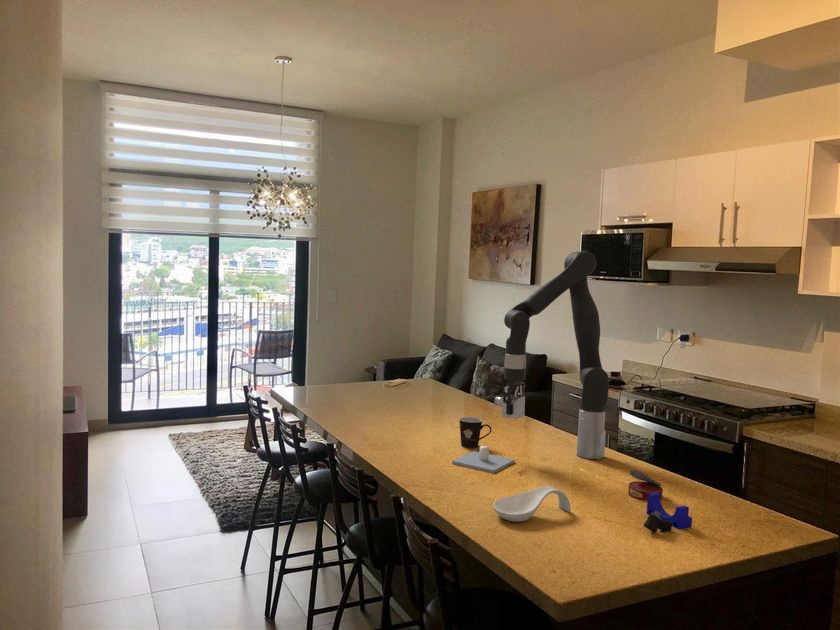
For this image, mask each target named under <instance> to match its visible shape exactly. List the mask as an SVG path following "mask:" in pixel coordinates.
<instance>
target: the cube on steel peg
mask: <svg viewBox="0 0 840 630" xmlns="http://www.w3.org/2000/svg"><path fill="white" fill-rule="evenodd" d="M525 402H526V396H525V395H524V396H518V395H516V398H514V399H513V414H512V415H507V414H506V403H503V396H496V397H495V398H494V401H493V403H494V405H495V406H498V407H501V417H504V418H511V419H514V420H518V419H520V418H523V417H525V407H526V405H525V404H526V403H525Z"/></svg>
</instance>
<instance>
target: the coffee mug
mask: <svg viewBox="0 0 840 630" xmlns="http://www.w3.org/2000/svg"><path fill="white" fill-rule="evenodd" d="M458 419H459V431H460V432H459V433H460V444H461V446H462V447H463V448H468V449H475V448H478V447H479V442H480V441H481V440H482V439H484V438H486V437H487V436H489V435H490V434H491V432H492V426H490V425H489V424H482V423H483V419H482V418H478V417H475V416H464V417H460V418H458ZM484 427H488V428H489V432H488V433H486V434H485V435H483V436H482V437H480V436H481V431H482V429H483V428H484Z"/></svg>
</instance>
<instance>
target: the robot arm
mask: <svg viewBox="0 0 840 630" xmlns="http://www.w3.org/2000/svg"><path fill="white" fill-rule="evenodd" d="M597 265H598V264H597V258H596V256H595V255H594V254H593V253H591V252H590V251H585V250H581V251H575V252H574V251H573V252H570V253H569V254H568V255H567V256H566V257H565V259H564V263H563V266H564V269H563V271H562V272H561V273H559V274H558V275H556V276H554V278H551V279H550V280H548V281H547V282H545V283H544V284H542V285H541V286H539V287H538V288H537V289H536V290H534V291H533V292H532V293H531V294H530V295H529V296H528V297H527V298H526V299H524V300H523V301H521V302H520V303H518V304H516V305H515V306H513V307H512V308H510V309H509V310H508V311H507V312H506V313H505V315H504V319H503V323H504V325H505V326H506V328H507V329H510V334H509V336H508V338H506V341H505V356H504V368H503V375H504V376H503V379H504V380H506V381H507V384H506V385H505V386H503V387H502V397H503V403H506V414H507V415H512V414H513V399H514V398H516V395H518V396H525V390H526V389H525V388H526V382H523V381H525V380H526V371H527V370H526V368H527V358H526V353H527V352H526V350H527V348H526V347H527V343H526V342H527V339H528V336H529V331H530V328H531V327H530V326H531V323H530V318H531V317H533V316H537V315H539V314H541V313H542V312H543V311H544V310H545V309H546V308H548V307H549V306H550V305H551V304H552V303H553V302H554V301H556V300H557V299H558V298H559V297H560V296H561V295H562V294H564V293H565V292H566V291H568V290H569V294H570V296H569V297H570V305H571V306H570V307H571V312H572V313H571V314H572V321H573V329H574V334H575V335H574V336H575V339H576V340H575V341H576V344H577V350H578V355H579V357H578V358H579V379H580V380H579V381H580V383H581V385H582V391H581V392H582V393H581V399H580V401H579V411H578V425H577V442H576V443H577V444H576V455H577V457H579V458H583V459H589V460H597V461H598V460H601V459H603V457H605V452H606V451H605V449H606V447H605V446H606V433H607V431H606V430H605V425H606V424H605V419H606V408H607V407H606V406H607V405H608V400H609V388H610V377H609V375H608V373H607V372H606V370H605V369H604V368H603V366H602V362H601V357H600V341H601V340H600V339H601V322H600V315H599V310H598V308H597V305H596V303H595V301H594V299H593V297H592V294H591V292H590V289H589V285H588V284H589V283H588V276H590V275H592V273H594V271H595V270H596V268H597Z"/></svg>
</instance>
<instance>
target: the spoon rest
mask: <svg viewBox="0 0 840 630" xmlns="http://www.w3.org/2000/svg"><path fill="white" fill-rule="evenodd" d="M551 494H556V495H557V497H558V508H560V509H562V510H563V511H566V512H568V513H569V512H572V511H571V509H572V508H571V503H570V499H569V498H568V496H567V495H566V493H564V492H563V491H561V490H559V489H557V488H556V487H553V486H549V485H547V486H546V485H545V486H540V487H537V488H534V489H531V490H529V491H525V492H521V493H517V494H513V495H509V496H504V497H501V498H498V499H497V500H495V501H494V502H493V504H492V508H493V510H494V511H495V512H496V514H497V515H498V516H499V517H500V518H502V519H503V520H506V521H509V522H513V523H521V522H522V523H523V522H526V521H528V520H529V519H530V518H532V517H533V516H534V514H535V513H536V512H537V510H538V508H540V506H541V505H542V503H543V501H544V500H545V498H547V496H549V495H551Z"/></svg>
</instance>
